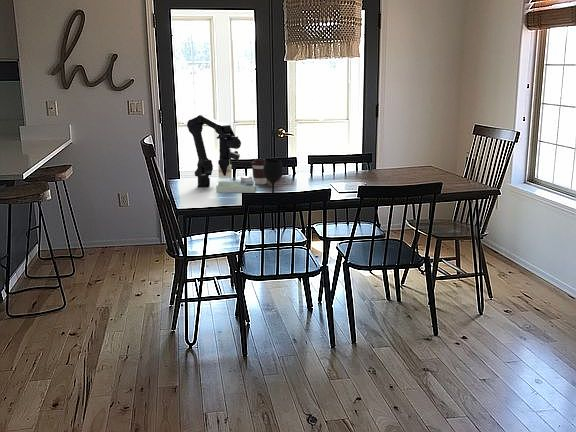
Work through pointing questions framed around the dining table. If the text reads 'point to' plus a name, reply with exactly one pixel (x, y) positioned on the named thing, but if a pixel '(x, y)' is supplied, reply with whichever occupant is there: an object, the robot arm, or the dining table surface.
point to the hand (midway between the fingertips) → (225, 174)
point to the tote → (233, 187)
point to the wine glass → (272, 171)
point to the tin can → (246, 181)
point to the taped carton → (228, 172)
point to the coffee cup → (258, 171)
